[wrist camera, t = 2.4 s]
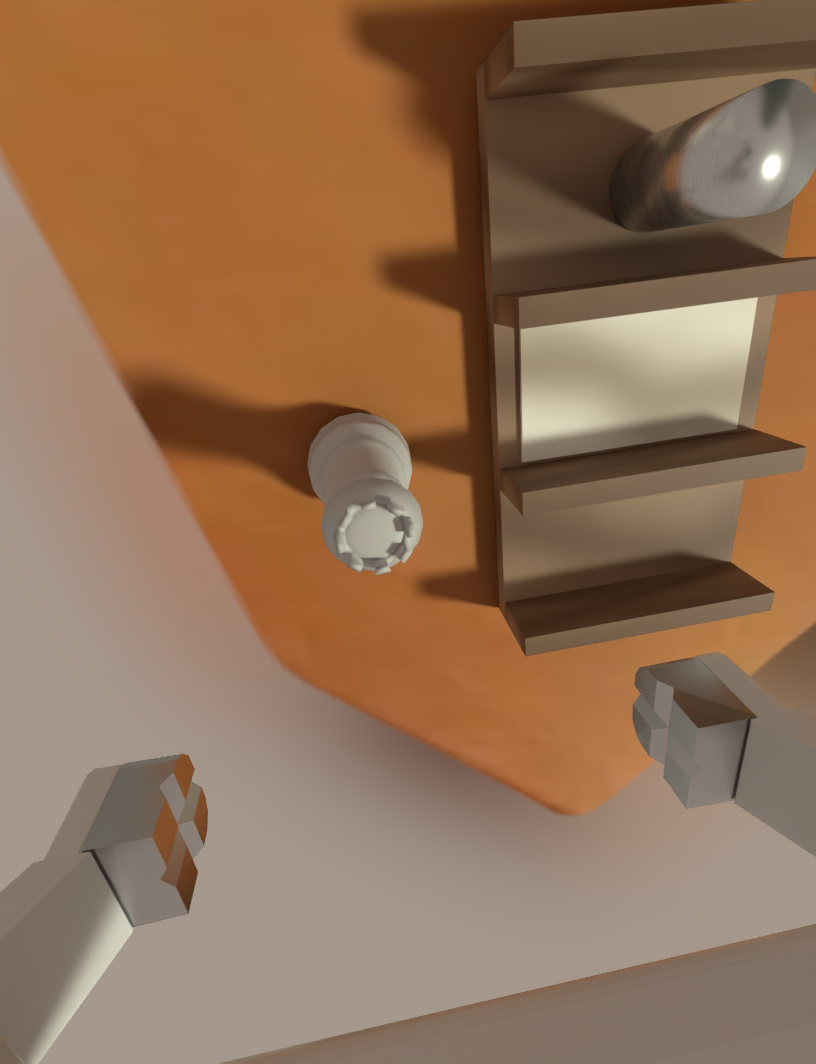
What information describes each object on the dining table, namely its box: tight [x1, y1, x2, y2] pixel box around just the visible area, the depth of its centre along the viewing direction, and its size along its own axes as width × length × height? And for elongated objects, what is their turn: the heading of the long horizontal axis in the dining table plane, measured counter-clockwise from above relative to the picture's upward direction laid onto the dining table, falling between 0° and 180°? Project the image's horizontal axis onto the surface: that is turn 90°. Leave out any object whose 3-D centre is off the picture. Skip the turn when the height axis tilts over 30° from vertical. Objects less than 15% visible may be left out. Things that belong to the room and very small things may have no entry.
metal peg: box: [609, 79, 816, 233], centre depth 17 cm, size 3×3×6 cm
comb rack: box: [476, 0, 816, 656], centre depth 22 cm, size 22×12×4 cm, turn 7°
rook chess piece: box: [307, 412, 423, 575], centre depth 20 cm, size 4×4×8 cm
